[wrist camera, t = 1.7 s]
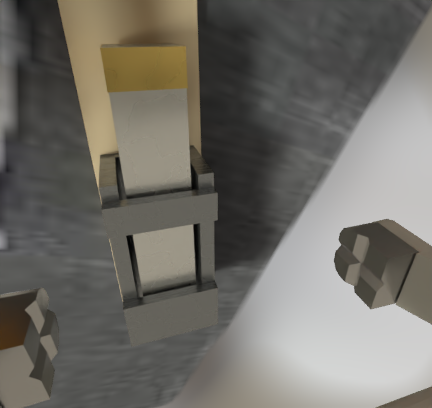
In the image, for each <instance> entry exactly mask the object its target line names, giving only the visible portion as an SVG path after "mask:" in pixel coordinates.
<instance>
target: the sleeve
mask: <svg viewBox="0 0 432 408" xmlns="http://www.w3.org/2000/svg"><path fill="white" fill-rule="evenodd" d="M189 148H190V169H191V190H190V191H183V192H176V193H169V194H162V195H155V196H148V197H141V198H134V199H127V198H126V192H125V186H124V180H123V174H122V168H121V163H120V157H119V153H114V154H104V155H100V166H99V186H98V188H99V193H100V197H101V202H102V214H103V219H104V223H105V228H106V232H107V237H108V239H110V243H111V248H112V253H113V257H114V262H115V267H116V271H117V276H118V281H119V285H120V290H121V294H122V299H123V310H124V314H125V319H126V324H127V328H128V333H129V337H130V342H131V346H136V345H140V344H144V343H148V342H151V341H155V340H159V339H163V338H167V337H170V336H174V335H178V334H182V333H186V332H190V331H193V330H197V329H201V328H205V327H209V326H213V325H216V324H218V287H217V285H216V283H215V265H214V221H215V220H218V192H217V191H216V189H215V188H214V172H213V171H212V170H211V168H210V167H209V166H208V164H207V163H206V161H205V160H204V159H203V157H202V156H201V155H200V153H199V152H198V151H197V149H196V148H195V147H194V145H191V146H189ZM192 224H193V232H194V253H195V274H196V285H193V286H188V287H184V288H179V289H175V290H170V291H166V292H161V293H157V294H152V295H148V296H143V293H142V287H141V281H140V275H139V269H138V263H137V258H136V252H135V246H134V240H133V234H139V233H145V232H151V231H157V230H163V229H169V228H174V227H180V226H186V225H192Z"/></svg>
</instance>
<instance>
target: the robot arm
mask: <svg viewBox="0 0 432 408" xmlns="http://www.w3.org/2000/svg"><path fill="white" fill-rule="evenodd" d="M339 241H340V243H341V246H340V247H339V248H338V250H337V251H336V253H335V258H334V263H335V267H336V270H337V272H338V274H339V276H340V277H341V278H342V279H343V280H344V281H345V282H347V283H349V284H351V285H353V286H354V289H355V293H356V294H357V295H358V296H359V297H360V298H361V299H362V301H364V303H365V304H366V305H367V306H368V307H369V308H370V309H374V308H378V307H382V306H386V305H390V304H394V303H396V305H398V306H399V307H401V308H403V309H405V310H407V311H408V312H410V313H412V314H414V315H416V316H418V317H419V318H421V319H423V320H425V321H427V322H428V323H430V324H432V246H431V245H429V244H427V243H426V242H425V241H423V240H422V239H420V238H419V237H417V236H416V235H414V234H413V233H411V232H410V231H408V230H407V229H405V228H404V227H402V226H401V225H399V224H398V223H396V222H395V221H393V220H389V219H385V220H380V221H376V222H372V223H368V224H363V225H359V226H353V227H348V228H344V229H343V230H342V231H341V233H340V236H339ZM48 303H49V298H48V295H47V293H46V291H45V289H43V288H36V289H30V290H25V291H19V292H13V293H8V294H2V295H0V408H22V407H25V406H29V405H32V404H35V403H39V402H42V401H45V400H48V399H50V396H51V390H52V384H53V378H54V372H55V370H54V367H53V365H52V363H51V360H52V359H53V357H54V356H55V355H56V354H57V353H58V346H59V327H58V322H57V318H56V316H55V313H54V312H52V311H50V310H48V309H47V308H48ZM376 408H432V387H429V388H427V389H424V390H421V391H418V392H416V393H413V394H410V395H408V396H405V397H403V398H400V399H397V400H395V401H392V402H389V403H387V404H384V405H381V406H379V407H376Z"/></svg>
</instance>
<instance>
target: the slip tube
mask: <svg viewBox="0 0 432 408" xmlns="http://www.w3.org/2000/svg"><path fill="white" fill-rule="evenodd" d="M100 51H101V56H102V62H103V68H104V74H105V80H106V86H107V92H108V93H109V97H110V103H111V109H112V115H113V121H114V127H115V133H116V139H117V145H118V151H119V157H120V163H121V168H122V174H123V180H124V186H125V192H126V198H127V199H134V198H141V197H148V196H155V195H162V194H169V193H176V192H183V191H190V190H191V169H190V148H189V127H188V106H187V88H188V83H187V61H186V46H183V45H178V44H174V43H140V44H101V46H100ZM133 240H134V246H135V252H136V258H137V263H138V269H139V275H140V281H141V287H142V293H143V296H148V295H152V294H157V293H161V292H166V291H170V290H175V289H179V288H184V287H188V286H193V285H196V274H195V253H194V232H193V224H192V225H186V226H180V227H174V228H169V229H163V230H157V231H151V232H145V233H139V234H133Z"/></svg>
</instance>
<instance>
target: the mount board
mask: <svg viewBox="0 0 432 408" xmlns="http://www.w3.org/2000/svg"><path fill="white" fill-rule="evenodd" d="M57 1H58V5H59V10H60V15H61V19H62V24H63V28H64V33H65V38H66V42H67V47H68V51H69V56H70V61H71V65H72V70H73V75H74V79H75V84H76V88H77V93H78V98H79V102H80V107H81V111H82V116H83V121H84V125H85V130H86V134H87V139H88V144H89V148H90V153H91V158H92V162H93V167H94V171H95V176H96V181H97V185H98V186H99V166H100V155H104V154H114V153H119V151H118V145H117V139H116V133H115V127H114V121H113V115H112V109H111V103H110V97H109V93H108V92H107V86H106V80H105V74H104V68H103V62H102V56H101V51H100V46H101V44H140V43H174V44H178V45H183V46H186V61H187V83H188V88H187V106H188V127H189V146H191V145H194V147H195V148H196V149H197V151H198V152H199V153H200V155H201V127H200V91H199V56H198V21H197V0H57ZM98 190H99V188H98ZM99 194H100V193H99ZM100 199H101V197H100ZM101 204H102V202H101ZM109 241H110V239H109ZM110 245H111V243H110ZM111 250H112V248H111ZM112 254H113V253H112ZM113 259H114V257H113ZM114 264H115V262H114ZM115 268H116V267H115ZM116 273H117V271H116ZM117 278H118V276H117ZM118 282H119V281H118ZM119 287H120V285H119ZM120 291H121V290H120ZM121 296H122V294H121ZM122 301H123V299H122Z"/></svg>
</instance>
